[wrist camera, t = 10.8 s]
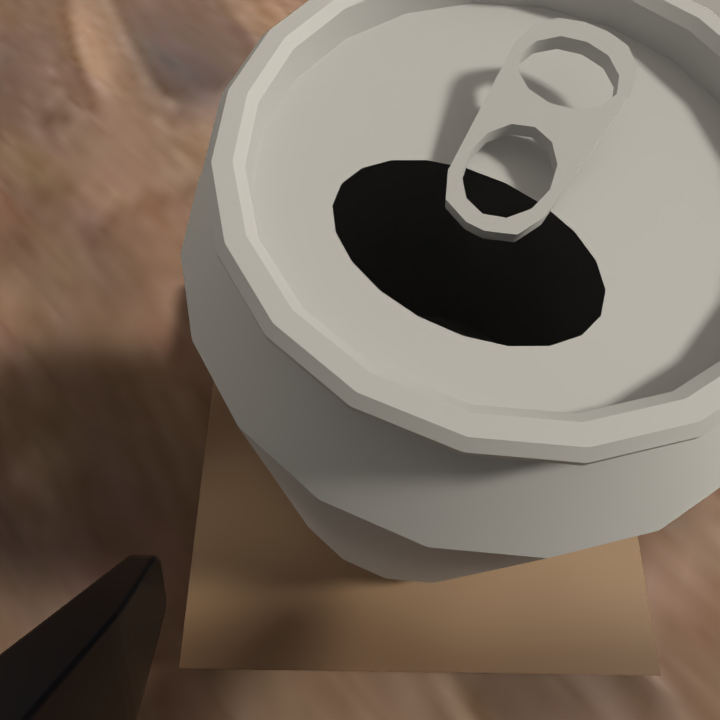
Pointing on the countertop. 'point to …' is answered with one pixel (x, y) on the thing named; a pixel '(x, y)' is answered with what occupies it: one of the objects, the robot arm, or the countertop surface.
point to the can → (469, 273)
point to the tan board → (389, 595)
